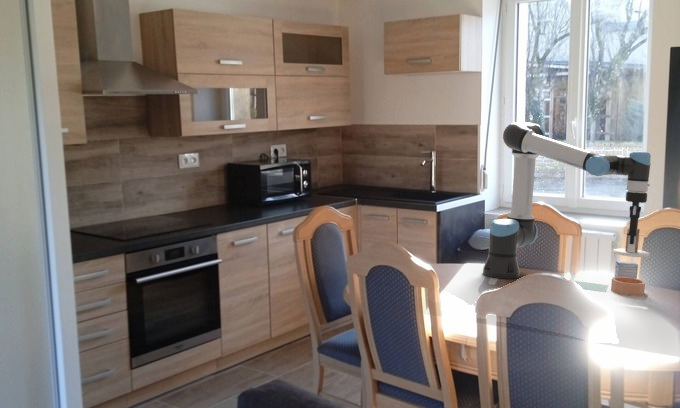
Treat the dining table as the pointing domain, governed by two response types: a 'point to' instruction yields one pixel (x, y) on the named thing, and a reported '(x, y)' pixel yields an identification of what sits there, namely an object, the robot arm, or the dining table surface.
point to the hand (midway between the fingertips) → (631, 251)
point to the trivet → (593, 286)
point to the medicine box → (626, 269)
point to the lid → (637, 252)
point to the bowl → (628, 286)
